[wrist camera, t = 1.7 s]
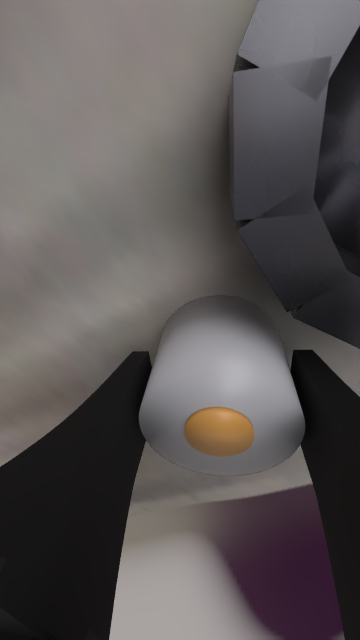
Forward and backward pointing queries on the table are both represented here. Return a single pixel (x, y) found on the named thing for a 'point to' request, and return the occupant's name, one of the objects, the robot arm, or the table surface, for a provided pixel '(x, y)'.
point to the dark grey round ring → (301, 157)
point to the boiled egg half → (221, 391)
